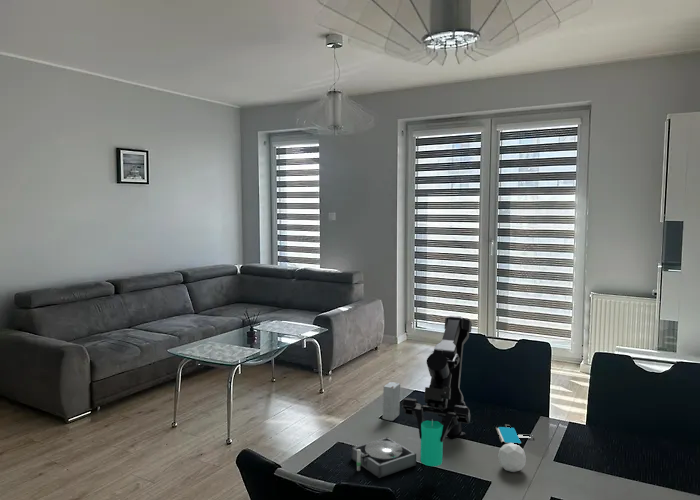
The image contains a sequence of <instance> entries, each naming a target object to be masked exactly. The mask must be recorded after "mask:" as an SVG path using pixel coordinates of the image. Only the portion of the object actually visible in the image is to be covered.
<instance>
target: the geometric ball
mask: <svg viewBox="0 0 700 500" xmlns="http://www.w3.org/2000/svg"><path fill="white" fill-rule="evenodd" d="M497 459H498V462H499V464H500V466H501V467H502V468H503V469H504V470H505V471H508V472H510V473H517V472H520V471H521V470H522V469H523V468H525V466H526V460H527V456H526V453H525V450H524V449H523V448H522V447H521V446H520V444H519V445H517V444H514V443H508V444H505V443H504V444H503V445H502V446H501V447H500V448H499V449H498V454H497Z"/></svg>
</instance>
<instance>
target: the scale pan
mask: <svg viewBox="0 0 700 500" xmlns="http://www.w3.org/2000/svg"><path fill="white" fill-rule="evenodd" d="M372 441H373V442H372ZM372 441H370V443H369V442H367V443H368V444H367V445H366V446H365V453H366V454H365V455H362V456H361V458H362V459H363V458H366V457H370V458H372V459H376V460H381V461H389V460H394V459H397V458H399V457H400V456H401V455H402V447H401V446H400V445H399V444H400V443H399V444H397V443H398V442H397V443H395V442H396V441H395V442H391V441H384V440H380V441H375V440H372Z"/></svg>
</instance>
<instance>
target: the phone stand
mask: <svg viewBox="0 0 700 500" xmlns="http://www.w3.org/2000/svg"><path fill="white" fill-rule="evenodd" d="M507 426H510V427H511V425H510V424H506V423H505V424H504V426H498V427H497V426H495V430H496V433H497V436H498V435H499V436H498V437H499V441H500V443H501V444H502V443H503V442H504V445H505V444H508V443H518V444H519V445H520V444H522V441H521V440H520V439H519V438H531V437H529V436H523V435H524V434H518V433H517V431H516V429H515V427H511V428H510V427H507ZM517 434H518V435H517Z"/></svg>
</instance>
